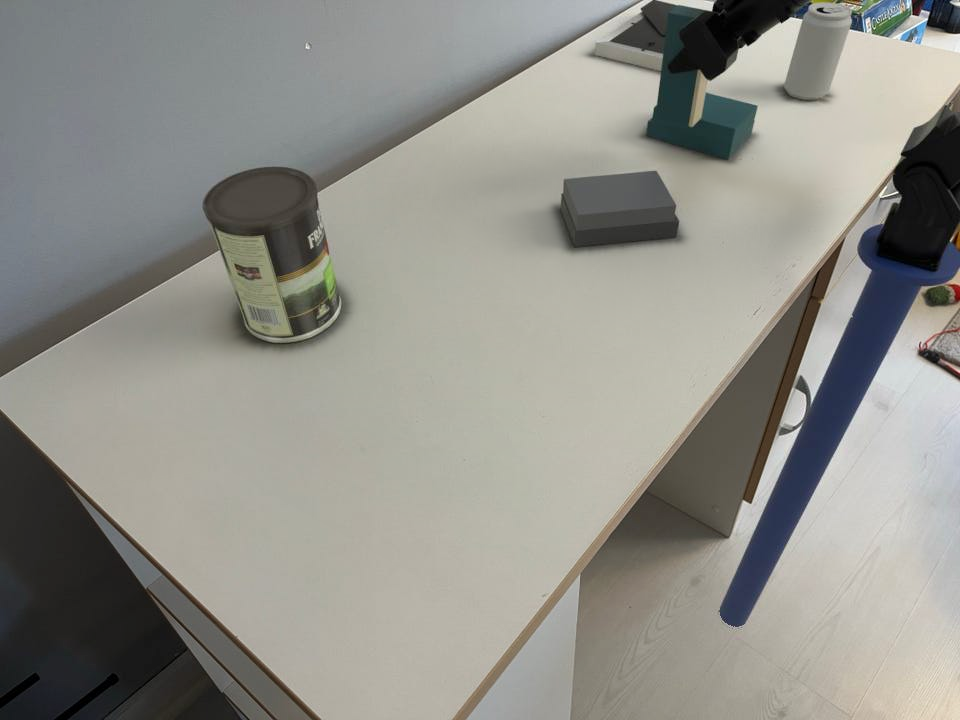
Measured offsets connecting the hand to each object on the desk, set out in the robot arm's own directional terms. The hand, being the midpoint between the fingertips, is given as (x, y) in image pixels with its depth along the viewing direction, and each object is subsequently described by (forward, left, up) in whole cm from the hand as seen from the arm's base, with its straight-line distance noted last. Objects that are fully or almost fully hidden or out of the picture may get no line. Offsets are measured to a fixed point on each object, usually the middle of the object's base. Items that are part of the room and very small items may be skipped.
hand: (674, 65), depth 86 cm
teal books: (-2, -8, -12) cm, 15 cm away
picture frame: (+13, -36, -13) cm, 41 cm away
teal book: (-2, 0, -7) cm, 7 cm away
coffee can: (+22, +48, -13) cm, 54 cm away
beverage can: (-12, -28, -13) cm, 33 cm away
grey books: (-1, +16, -12) cm, 21 cm away
